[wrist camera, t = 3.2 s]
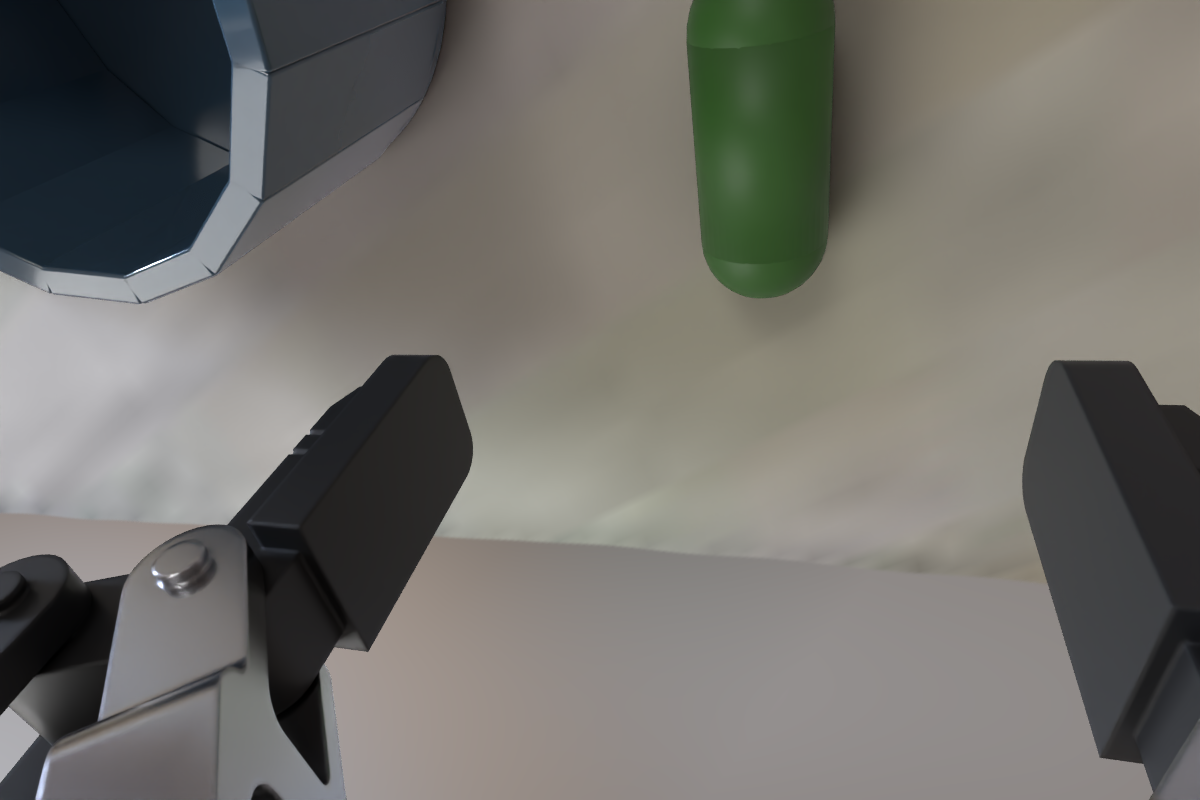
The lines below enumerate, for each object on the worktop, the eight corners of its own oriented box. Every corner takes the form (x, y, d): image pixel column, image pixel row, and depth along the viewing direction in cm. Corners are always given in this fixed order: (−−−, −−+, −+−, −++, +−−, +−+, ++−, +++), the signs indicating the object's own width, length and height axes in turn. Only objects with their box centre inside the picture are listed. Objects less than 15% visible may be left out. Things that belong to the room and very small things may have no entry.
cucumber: (825, 262, 22) (826, 320, 19) (712, 266, 23) (698, 321, 20) (836, -74, 17) (839, -58, 14) (691, -52, 18) (669, -33, 15)
